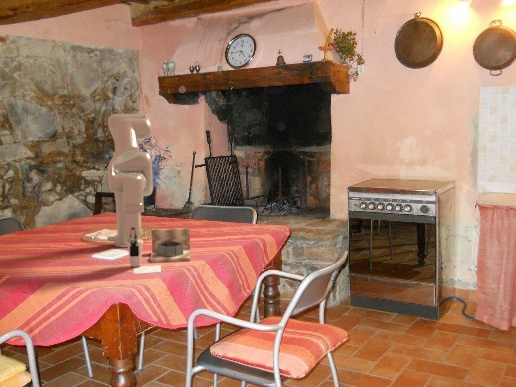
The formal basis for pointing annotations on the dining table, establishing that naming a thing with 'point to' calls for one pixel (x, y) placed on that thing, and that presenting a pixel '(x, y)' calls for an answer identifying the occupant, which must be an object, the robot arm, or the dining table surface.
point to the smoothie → (135, 259)
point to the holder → (170, 245)
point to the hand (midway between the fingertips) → (135, 253)
